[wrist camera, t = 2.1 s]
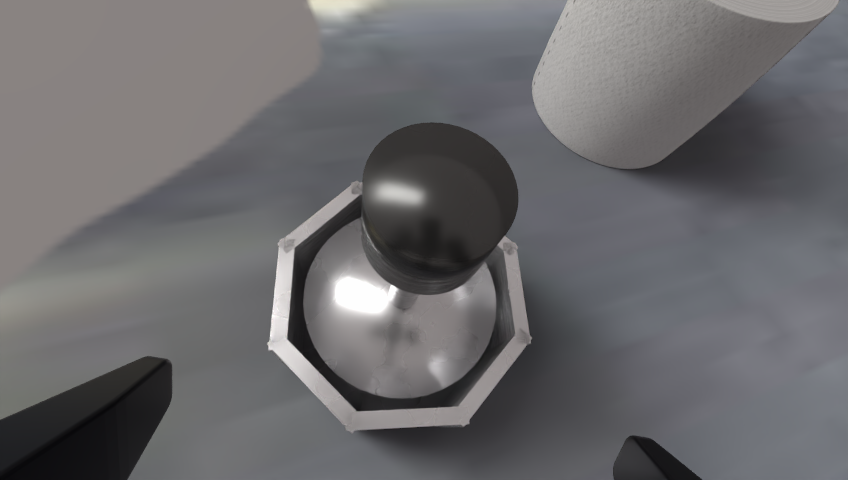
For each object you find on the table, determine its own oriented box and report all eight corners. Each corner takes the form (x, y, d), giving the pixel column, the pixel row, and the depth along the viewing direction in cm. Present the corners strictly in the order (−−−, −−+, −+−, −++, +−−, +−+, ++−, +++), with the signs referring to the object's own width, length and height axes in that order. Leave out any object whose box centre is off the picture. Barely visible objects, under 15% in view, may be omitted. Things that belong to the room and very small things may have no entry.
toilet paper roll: (700, 102, 33) (861, -50, 22) (647, 203, 28) (822, 67, 17) (571, 24, 34) (665, -151, 24) (499, 107, 29) (578, -71, 19)
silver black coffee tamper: (418, 445, 15) (492, 464, 7) (262, 312, 17) (169, 196, 8) (524, 288, 19) (658, 176, 10) (388, 185, 20) (411, 12, 12)
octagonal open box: (497, 424, 21) (545, 422, 15) (283, 435, 19) (256, 439, 14) (471, 198, 26) (501, 139, 21) (303, 192, 24) (289, 127, 19)
